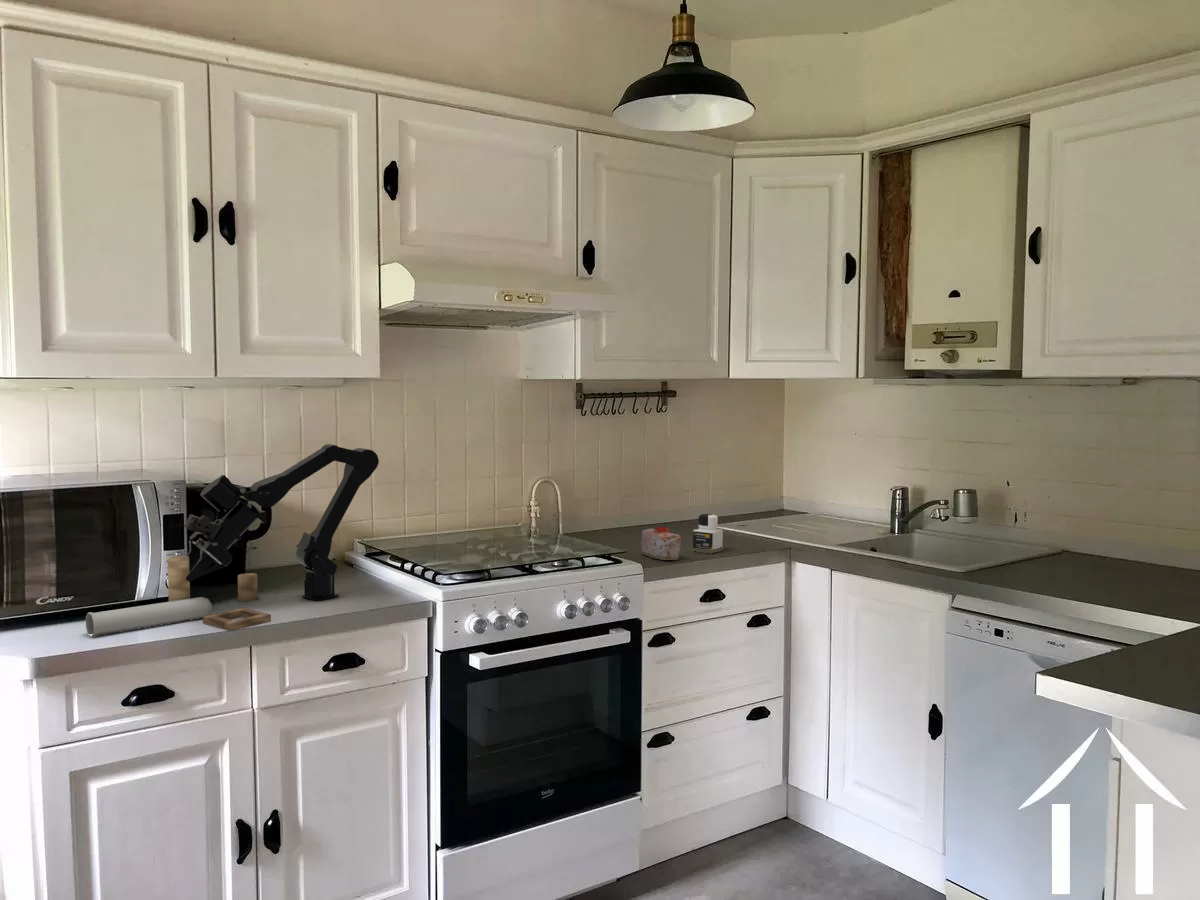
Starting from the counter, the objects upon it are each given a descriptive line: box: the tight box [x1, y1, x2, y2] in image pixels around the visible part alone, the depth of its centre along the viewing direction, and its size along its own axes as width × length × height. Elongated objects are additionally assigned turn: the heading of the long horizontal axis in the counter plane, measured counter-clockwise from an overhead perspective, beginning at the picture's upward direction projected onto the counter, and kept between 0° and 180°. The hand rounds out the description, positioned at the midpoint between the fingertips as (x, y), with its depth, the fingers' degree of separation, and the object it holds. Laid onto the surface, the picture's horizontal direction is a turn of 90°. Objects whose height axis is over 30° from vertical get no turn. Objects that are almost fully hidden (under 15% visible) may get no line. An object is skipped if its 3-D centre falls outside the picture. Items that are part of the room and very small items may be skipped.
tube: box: [85, 596, 213, 638], centre depth 199 cm, size 5×5×25 cm
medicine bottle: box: [692, 513, 724, 550], centre depth 293 cm, size 7×7×12 cm
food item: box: [640, 526, 682, 559], centre depth 282 cm, size 14×8×10 cm, turn 34°
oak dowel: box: [167, 555, 191, 602], centre depth 207 cm, size 4×4×13 cm
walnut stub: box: [237, 572, 259, 602], centre depth 223 cm, size 4×4×6 cm
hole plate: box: [202, 607, 272, 632], centre depth 202 cm, size 10×10×2 cm
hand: (182, 576), depth 208 cm, fingers open, 9 cm apart
